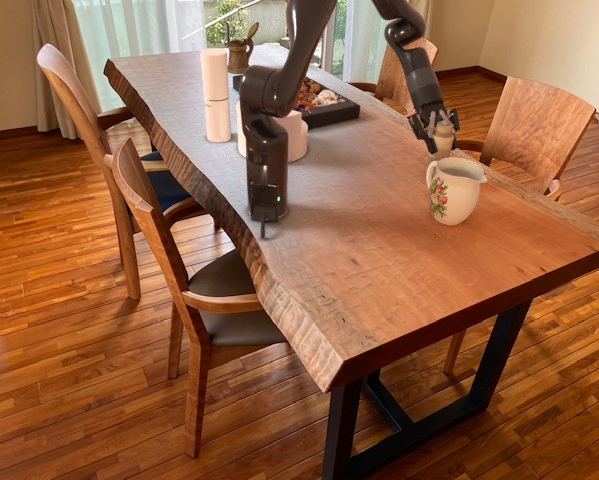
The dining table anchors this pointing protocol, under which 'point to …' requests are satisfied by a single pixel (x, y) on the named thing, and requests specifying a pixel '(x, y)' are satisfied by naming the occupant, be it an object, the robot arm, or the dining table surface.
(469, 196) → the pitcher
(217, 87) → the cylindrical container
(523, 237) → the dining table surface
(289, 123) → the container
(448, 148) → the pepper mill
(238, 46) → the wooden mug
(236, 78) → the food platter
